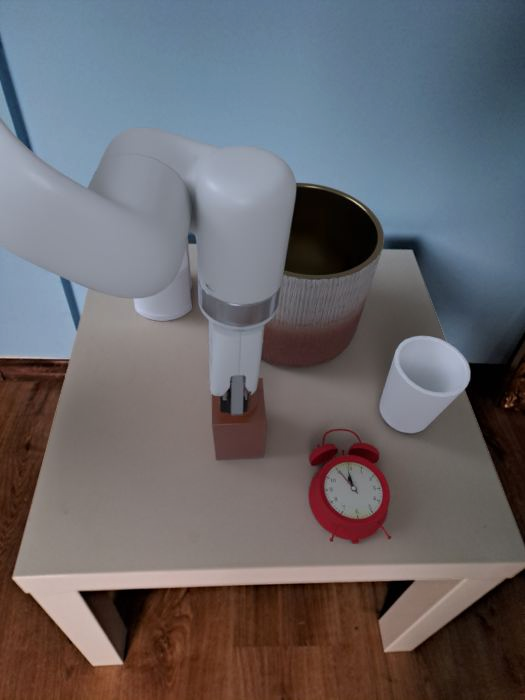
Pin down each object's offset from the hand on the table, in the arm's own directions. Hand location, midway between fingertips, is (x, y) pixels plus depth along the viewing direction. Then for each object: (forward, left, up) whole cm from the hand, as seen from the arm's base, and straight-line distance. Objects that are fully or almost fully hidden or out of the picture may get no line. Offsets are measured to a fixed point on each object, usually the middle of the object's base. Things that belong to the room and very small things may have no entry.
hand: (232, 395), depth 56 cm
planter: (+11, +22, -12) cm, 27 cm away
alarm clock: (+15, -8, -12) cm, 21 cm away
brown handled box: (+1, +1, -11) cm, 11 cm away
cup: (+26, +3, -12) cm, 29 cm away
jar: (-11, +28, -12) cm, 32 cm away
